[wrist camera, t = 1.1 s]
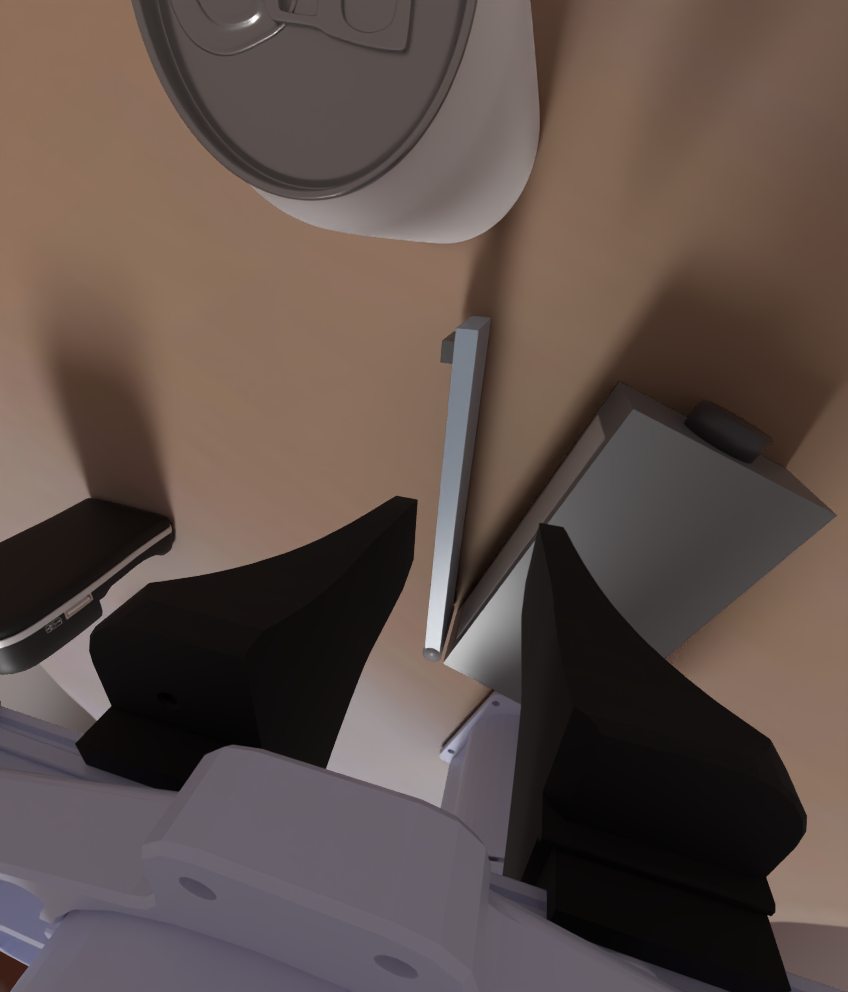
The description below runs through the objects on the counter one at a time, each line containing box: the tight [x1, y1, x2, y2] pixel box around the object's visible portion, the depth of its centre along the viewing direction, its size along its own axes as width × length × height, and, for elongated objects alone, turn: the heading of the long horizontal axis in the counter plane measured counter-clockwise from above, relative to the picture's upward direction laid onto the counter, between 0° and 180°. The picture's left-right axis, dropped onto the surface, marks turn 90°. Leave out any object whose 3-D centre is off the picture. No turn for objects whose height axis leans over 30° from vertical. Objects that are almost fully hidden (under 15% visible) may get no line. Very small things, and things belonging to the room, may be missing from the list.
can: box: [131, 0, 540, 243], centre depth 11 cm, size 6×6×12 cm
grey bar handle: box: [423, 316, 491, 662], centre depth 21 cm, size 17×2×4 cm, turn 176°
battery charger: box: [0, 498, 172, 675], centre depth 26 cm, size 7×4×11 cm, turn 84°
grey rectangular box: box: [443, 382, 837, 704], centre depth 21 cm, size 17×8×4 cm, turn 156°
